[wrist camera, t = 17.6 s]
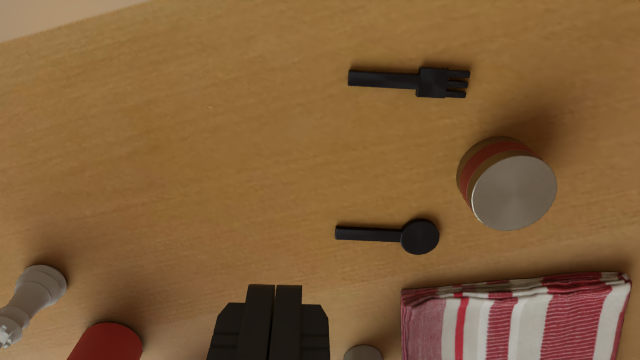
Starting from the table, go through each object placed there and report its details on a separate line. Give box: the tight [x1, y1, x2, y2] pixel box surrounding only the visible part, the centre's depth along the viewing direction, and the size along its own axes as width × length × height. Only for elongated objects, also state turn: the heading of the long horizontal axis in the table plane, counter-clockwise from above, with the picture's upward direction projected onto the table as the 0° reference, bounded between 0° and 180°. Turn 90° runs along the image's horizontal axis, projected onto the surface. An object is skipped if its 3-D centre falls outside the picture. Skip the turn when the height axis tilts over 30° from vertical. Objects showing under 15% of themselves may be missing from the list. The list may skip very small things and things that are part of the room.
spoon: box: [335, 218, 439, 255], centre depth 43 cm, size 10×4×1 cm, turn 87°
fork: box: [348, 67, 470, 98], centre depth 37 cm, size 10×2×1 cm, turn 87°
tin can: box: [456, 137, 557, 231], centre depth 39 cm, size 7×7×4 cm
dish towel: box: [401, 272, 632, 360], centre depth 48 cm, size 17×23×3 cm
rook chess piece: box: [0, 265, 67, 349], centre depth 42 cm, size 4×4×8 cm
